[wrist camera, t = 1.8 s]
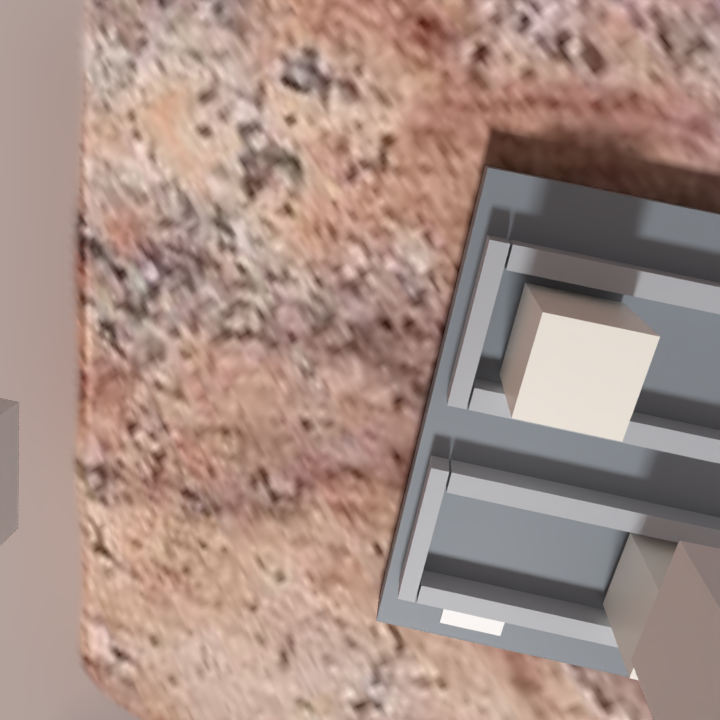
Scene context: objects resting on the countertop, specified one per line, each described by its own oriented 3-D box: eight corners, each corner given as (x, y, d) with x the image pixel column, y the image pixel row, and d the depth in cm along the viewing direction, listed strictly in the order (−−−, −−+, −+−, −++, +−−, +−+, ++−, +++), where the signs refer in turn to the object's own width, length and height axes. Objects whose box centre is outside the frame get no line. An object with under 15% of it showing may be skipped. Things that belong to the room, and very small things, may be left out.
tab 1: (525, 282, 27) (542, 312, 23) (624, 303, 27) (659, 336, 23) (499, 374, 29) (511, 417, 24) (593, 394, 29) (622, 441, 24)
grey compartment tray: (485, 165, 28) (490, 169, 25) (904, 250, 27) (953, 264, 25) (378, 600, 35) (374, 637, 33) (706, 673, 35) (727, 717, 32)
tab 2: (630, 532, 30) (662, 598, 26) (719, 551, 30) (766, 621, 26) (602, 604, 32) (629, 677, 28) (687, 622, 32) (727, 699, 27)
